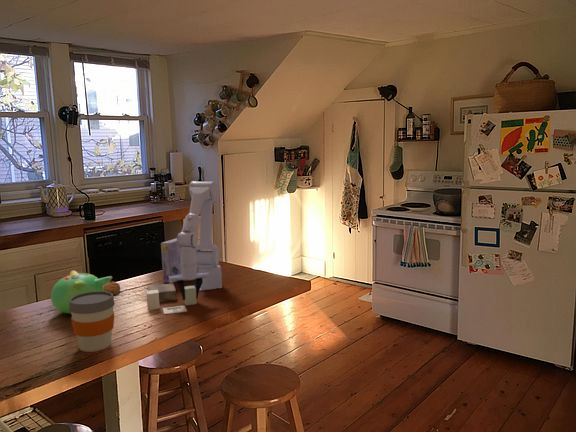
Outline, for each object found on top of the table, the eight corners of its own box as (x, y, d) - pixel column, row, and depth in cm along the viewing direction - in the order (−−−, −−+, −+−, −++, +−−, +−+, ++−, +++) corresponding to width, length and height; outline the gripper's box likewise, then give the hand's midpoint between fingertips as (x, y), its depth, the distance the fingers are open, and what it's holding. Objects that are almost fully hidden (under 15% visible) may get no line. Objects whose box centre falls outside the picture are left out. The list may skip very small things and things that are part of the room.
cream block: (158, 305, 182) (157, 289, 181) (159, 308, 179) (158, 292, 178) (147, 306, 181) (146, 290, 180) (148, 310, 177) (147, 294, 176)
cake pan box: (187, 271, 228) (185, 234, 225) (196, 272, 226) (194, 234, 223) (161, 283, 210) (159, 242, 207) (171, 284, 208) (169, 243, 205)
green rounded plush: (84, 301, 188) (81, 263, 186) (116, 307, 181) (114, 268, 178) (42, 316, 172) (38, 276, 170) (76, 324, 165) (73, 281, 162)
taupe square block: (173, 292, 198) (173, 283, 197) (176, 300, 188) (175, 290, 188) (147, 295, 194) (147, 286, 194) (149, 303, 185) (148, 293, 185)
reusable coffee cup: (126, 340, 151) (123, 293, 148) (95, 357, 139) (91, 306, 137) (95, 334, 156) (91, 289, 153) (63, 350, 144) (58, 301, 142)
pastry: (122, 294, 196) (122, 285, 195) (104, 297, 192) (104, 288, 192) (119, 288, 204) (118, 279, 203) (101, 291, 201) (101, 282, 200)
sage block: (194, 300, 187) (194, 285, 186) (196, 303, 183) (195, 288, 182) (184, 301, 185) (183, 286, 184) (185, 305, 182) (185, 289, 181)
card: (184, 306, 181) (184, 305, 181) (187, 311, 175) (187, 310, 175) (162, 308, 178) (162, 308, 178) (164, 314, 172) (164, 313, 172)
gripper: (169, 268, 176) (171, 304, 178) (209, 264, 180) (211, 299, 183) (167, 263, 182) (169, 298, 184) (206, 259, 187) (208, 294, 189)
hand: (190, 298), depth 184 cm, fingers closed on sage block, 4 cm apart
